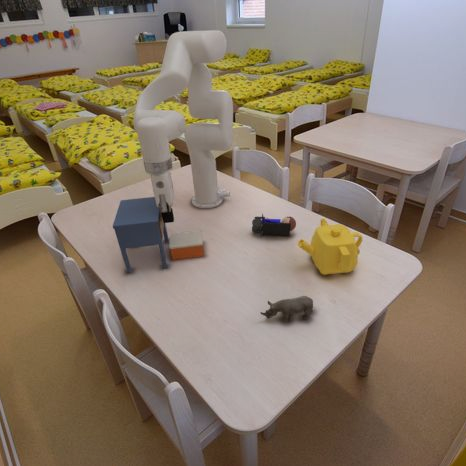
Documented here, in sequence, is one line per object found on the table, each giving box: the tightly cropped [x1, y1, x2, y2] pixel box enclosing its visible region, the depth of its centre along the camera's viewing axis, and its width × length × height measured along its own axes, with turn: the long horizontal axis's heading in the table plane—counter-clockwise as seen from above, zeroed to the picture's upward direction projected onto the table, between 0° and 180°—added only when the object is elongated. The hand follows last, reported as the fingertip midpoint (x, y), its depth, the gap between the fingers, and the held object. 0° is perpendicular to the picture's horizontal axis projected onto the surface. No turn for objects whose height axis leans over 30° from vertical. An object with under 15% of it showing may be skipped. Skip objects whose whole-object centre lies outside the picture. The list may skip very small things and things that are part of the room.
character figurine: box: [251, 213, 297, 238], centre depth 114 cm, size 8×7×15 cm
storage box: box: [168, 229, 205, 261], centre depth 109 cm, size 10×8×5 cm
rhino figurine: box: [260, 295, 314, 323], centre depth 83 cm, size 4×14×6 cm, turn 97°
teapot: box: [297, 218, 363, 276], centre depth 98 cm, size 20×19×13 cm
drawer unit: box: [112, 196, 170, 274], centre depth 104 cm, size 12×15×17 cm
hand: (168, 221), depth 103 cm, fingers closed
